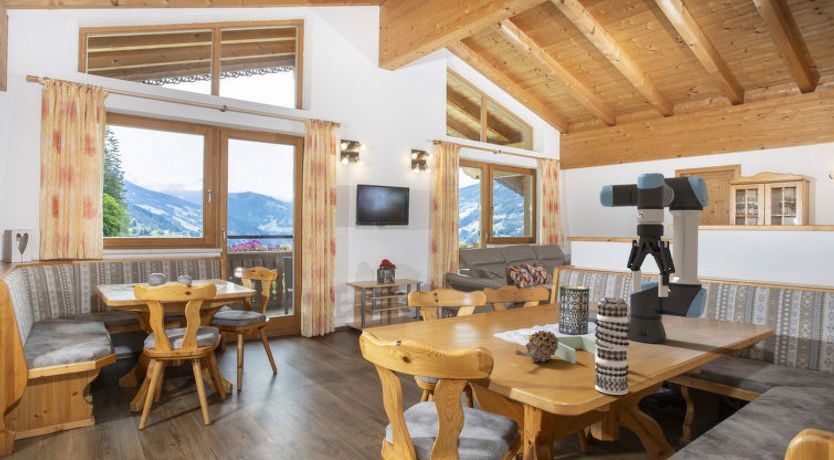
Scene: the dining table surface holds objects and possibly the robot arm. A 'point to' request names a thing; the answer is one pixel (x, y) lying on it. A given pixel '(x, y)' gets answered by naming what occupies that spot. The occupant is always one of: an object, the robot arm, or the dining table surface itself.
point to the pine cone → (540, 346)
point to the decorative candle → (612, 346)
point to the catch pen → (573, 346)
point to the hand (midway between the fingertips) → (649, 294)
